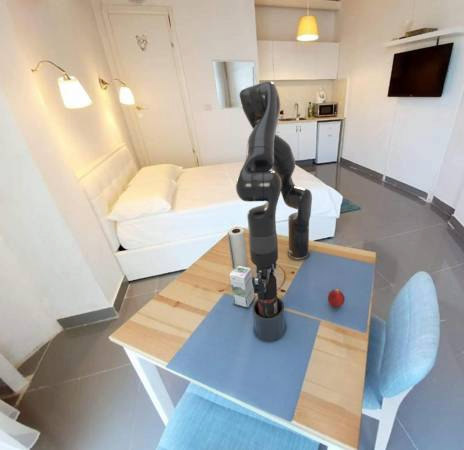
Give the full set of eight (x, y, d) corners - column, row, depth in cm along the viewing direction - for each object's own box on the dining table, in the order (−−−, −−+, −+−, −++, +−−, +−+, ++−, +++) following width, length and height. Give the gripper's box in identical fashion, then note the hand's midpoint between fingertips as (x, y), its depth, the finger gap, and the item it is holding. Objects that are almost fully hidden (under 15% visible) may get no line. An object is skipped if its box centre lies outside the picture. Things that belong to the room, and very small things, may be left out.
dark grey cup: (261, 313, 88) (259, 292, 83) (287, 319, 86) (287, 298, 81) (250, 337, 80) (247, 315, 75) (279, 344, 77) (278, 322, 72)
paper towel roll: (246, 267, 111) (241, 225, 100) (250, 275, 106) (245, 232, 96) (230, 272, 108) (223, 229, 98) (234, 280, 103) (227, 236, 93)
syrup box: (254, 297, 95) (251, 267, 88) (247, 308, 90) (243, 277, 83) (241, 293, 97) (237, 264, 90) (233, 305, 92) (228, 274, 85)
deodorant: (275, 324, 77) (273, 288, 70) (257, 321, 78) (253, 285, 71) (279, 309, 82) (278, 274, 75) (262, 307, 83) (259, 272, 76)
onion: (333, 314, 87) (335, 297, 83) (324, 303, 91) (325, 287, 88) (346, 308, 89) (349, 291, 85) (336, 298, 94) (338, 281, 90)
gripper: (259, 229, 74) (263, 274, 82) (239, 258, 62) (245, 306, 70) (284, 233, 72) (285, 277, 80) (267, 262, 60) (271, 312, 68)
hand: (266, 291), depth 75 cm, fingers closed on deodorant, 6 cm apart
